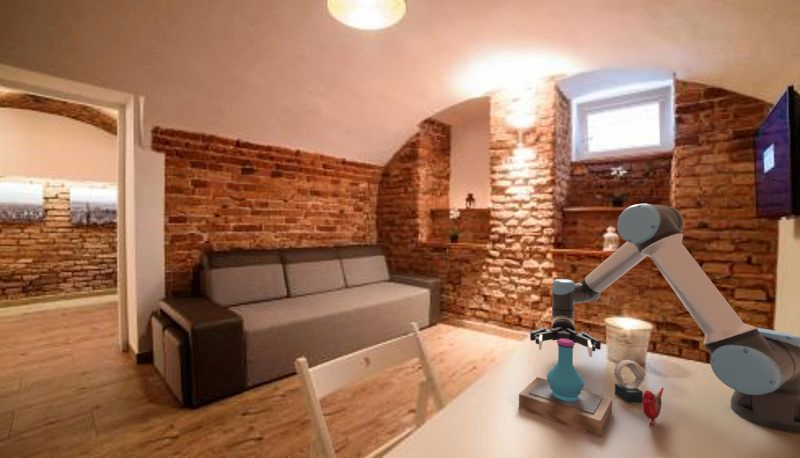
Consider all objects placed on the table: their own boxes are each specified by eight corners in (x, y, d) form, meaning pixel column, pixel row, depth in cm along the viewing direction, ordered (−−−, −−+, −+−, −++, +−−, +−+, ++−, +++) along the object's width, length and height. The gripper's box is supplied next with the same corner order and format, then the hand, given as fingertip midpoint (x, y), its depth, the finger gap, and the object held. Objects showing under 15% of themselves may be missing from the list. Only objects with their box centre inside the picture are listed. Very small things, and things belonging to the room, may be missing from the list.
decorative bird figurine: (637, 432, 87) (638, 392, 87) (656, 407, 99) (657, 371, 98) (651, 437, 85) (652, 396, 84) (669, 411, 96) (669, 375, 96)
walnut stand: (611, 413, 95) (612, 397, 95) (600, 437, 85) (600, 419, 84) (537, 390, 108) (537, 376, 108) (518, 408, 98) (519, 392, 98)
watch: (648, 402, 101) (649, 364, 101) (622, 403, 100) (623, 365, 100) (633, 392, 107) (634, 356, 107) (609, 393, 106) (609, 357, 106)
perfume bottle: (539, 389, 99) (540, 336, 99) (566, 385, 102) (566, 333, 102) (563, 406, 91) (564, 348, 90) (592, 400, 93) (592, 344, 93)
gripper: (603, 344, 119) (613, 368, 100) (525, 334, 129) (520, 354, 110) (604, 322, 119) (613, 342, 100) (525, 314, 129) (520, 330, 110)
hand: (564, 348), depth 105 cm, fingers open, 13 cm apart
